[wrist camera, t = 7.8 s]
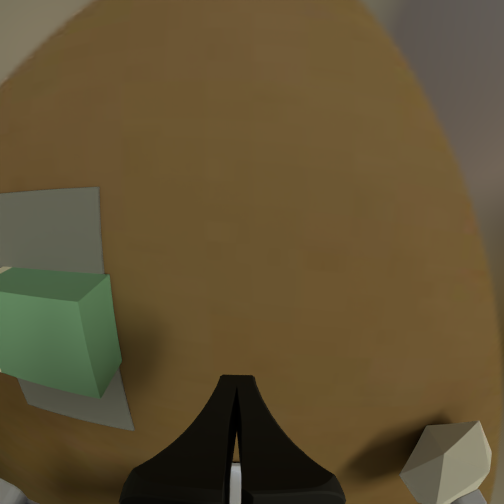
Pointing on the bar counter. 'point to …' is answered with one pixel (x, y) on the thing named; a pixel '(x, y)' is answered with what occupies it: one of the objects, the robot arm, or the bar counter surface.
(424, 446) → the die
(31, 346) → the block
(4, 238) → the mat
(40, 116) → the bar counter surface
